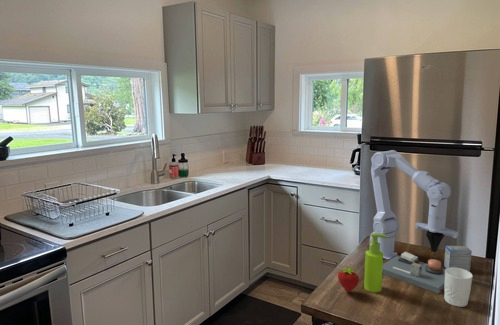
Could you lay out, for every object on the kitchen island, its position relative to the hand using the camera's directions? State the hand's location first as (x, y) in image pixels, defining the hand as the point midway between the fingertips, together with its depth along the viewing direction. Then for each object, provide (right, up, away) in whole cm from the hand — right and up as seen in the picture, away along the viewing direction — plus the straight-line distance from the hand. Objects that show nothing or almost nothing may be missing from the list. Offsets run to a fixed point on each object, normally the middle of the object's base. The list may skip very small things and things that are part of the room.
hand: (434, 251), depth 141 cm
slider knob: (-8, -8, -3) cm, 12 cm away
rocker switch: (-6, -5, +8) cm, 11 cm away
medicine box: (+12, -9, +6) cm, 16 cm away
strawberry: (-35, -12, -10) cm, 38 cm away
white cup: (-1, -13, -17) cm, 21 cm away
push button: (0, -6, 0) cm, 6 cm away
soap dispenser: (-25, -11, -8) cm, 28 cm away
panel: (-6, -9, +2) cm, 11 cm away
